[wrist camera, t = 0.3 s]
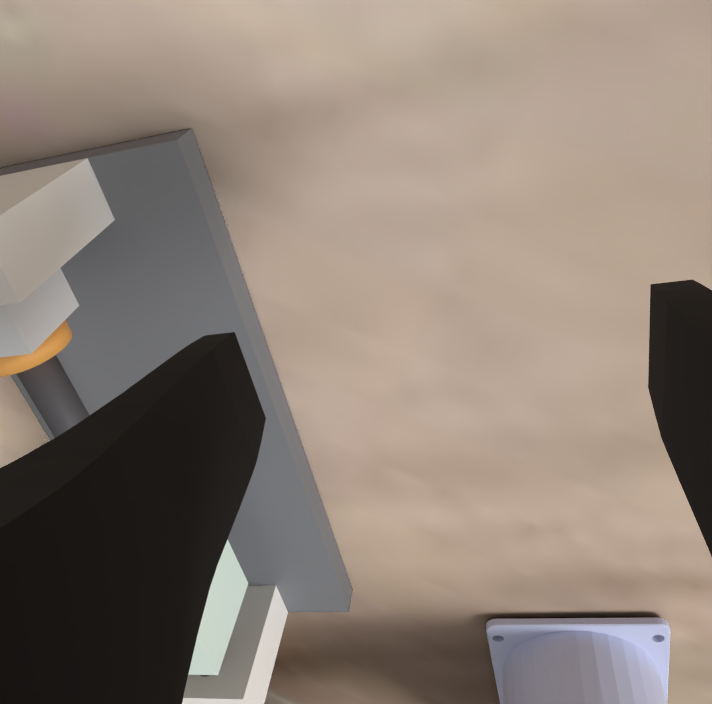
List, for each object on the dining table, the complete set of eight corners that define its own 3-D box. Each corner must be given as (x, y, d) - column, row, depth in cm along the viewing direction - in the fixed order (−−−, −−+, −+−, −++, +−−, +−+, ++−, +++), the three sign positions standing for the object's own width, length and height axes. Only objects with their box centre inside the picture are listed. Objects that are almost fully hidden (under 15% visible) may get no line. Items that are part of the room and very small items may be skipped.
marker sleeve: (248, 583, 27) (218, 675, 24) (162, 585, 28) (121, 673, 25) (216, 516, 25) (178, 606, 22) (125, 520, 26) (75, 608, 23)
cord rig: (352, 589, 32) (328, 728, 26) (165, 593, 34) (108, 721, 29) (191, 128, 20) (90, 208, 15) (-74, 183, 22) (-243, 269, 17)
